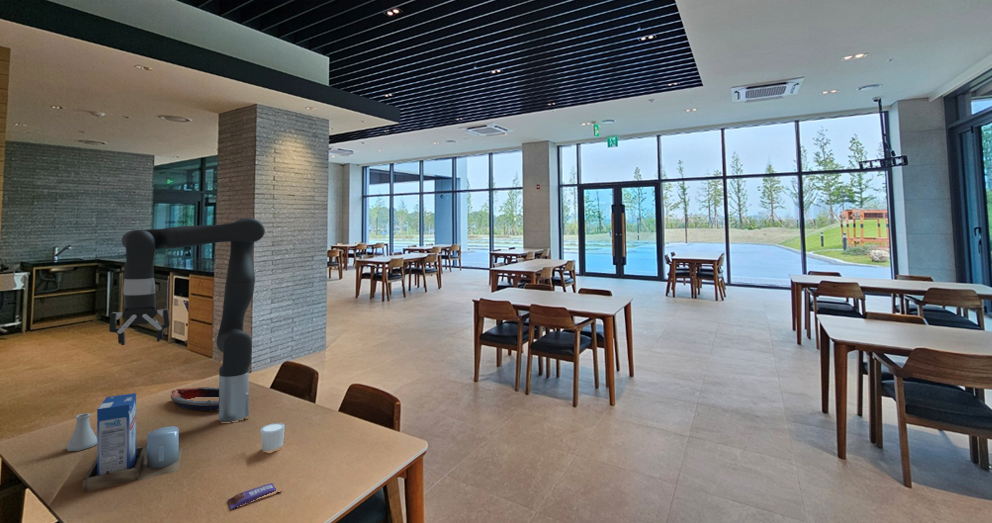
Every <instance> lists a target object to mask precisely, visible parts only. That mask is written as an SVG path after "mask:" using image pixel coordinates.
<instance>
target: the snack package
mask: <svg viewBox="0 0 992 523" xmlns="http://www.w3.org/2000/svg"><path fill="white" fill-rule="evenodd" d="M273 484H274V483H273V482H272V483H266V484H263V485H260V486H257V487H254V488H251V489H249V490H245V491H242V492H239V493H237V494H235V495H234V496H232V497H230V498H228V499H227V501H228V504H229V508H230V510H233V508H234V509H236V508H235V507H237V506H240V505H243V504H245V503H249V502H251V501H253V500H256V499H257V498H259V497H262V496H264V495H267V494H269V493H272V492H274V491H276V488H275V487H274V485H273ZM249 504H250V503H249ZM243 506H244V505H243Z"/></svg>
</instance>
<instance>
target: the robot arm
mask: <svg viewBox="0 0 992 523" xmlns="http://www.w3.org/2000/svg"><path fill="white" fill-rule="evenodd" d="M265 232H266V229H265V225H264V223H262V222H261V221H259V220H258V219H255V218H251V217H247V218H239V219H237V220H235V221H234V222H230V223H229V222H228V223H221V224H208V225H202V224H201V225H182V226H181V225H180V226H172V227H164V228H153V229H152V228H151V229H133V230H130V231H127V232H126V233H124V235H123V236H122V238H121V243H122V246H123V247H124V248H125V256H126V257H125V258H126V260H125V262H124V264H123V270H124V271H123V272H124V276H123V277H124V281H123V291H122V292H123V311H122V312H116V311H113V312H111V313H110V315H109V330H108V331H109V332H110V333H115V334H117V343H118V344H120V346H125V345H126V332H125V330H126V329H127V328H128V327H129V326H130V325H134V326H137V325H147V324H151V326H153V327H154V328H155V329H157V330H156V342H157V343H158V342H161V340H163V339H164V329H166V328H169V327H170V325H171V324H170V313H169V308H164V309H157V307H156V304H157V303H156V298H157V297H156V283H155V268H154V259H155V253H156V252H155V251H156V250H159V249H180V248H189V247H195V246H202V245H203V246H204V245H209V244H217V243H225V242H230V255H229V260H228V265H227V272H226V278H225V285H224V296H223V304H222V316H221V320H220V325H219V329H218V332H217V337H216V346H217V349H218V351H220V352H221V353H223V354H222V356H223V357H222V365H221V366H220V367H219V370H218V371H219V372H218V376H219V377H218V382H219V383H218V388H219V410H218V422H219V421H221V422H232V421H236V420H239V419H242V418H244V417H247V416H249V415H250V391H249V389H250V388H249V387H250V386H249V385H250V384H249V383H250V382H249V380H250V379H249V378H250V374H249V373H250V372H249V371H250V367H251V366H250V365H252V347H253V346H252V344H253V342H252V339H251V338H252V337H251V336H250V334H248V333H247V332H244V320H245V319H244V318H245V315H246V311H247V310H248V308H249V306H250V303H251V302H252V299H253V297H254V291H255V285H256V284H255V282H256V274H255V273H256V272H255V267H254V261H253V251H254V250H253V249H254V246H255V243H256V242H259V241H260V240H261V239H262V238H263V237H264V235H265ZM157 315H160V317H163V324H161V323H160V322H159V321H158V320H157V318H155V317H156V316H157ZM121 317H123V318H124V319H125V320H126V321H125V322H124V323H123V325H121V327H117V325H118V324H117V320H119V319H120V318H121ZM249 417H250V416H249Z"/></svg>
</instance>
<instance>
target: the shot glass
mask: <svg viewBox="0 0 992 523" xmlns="http://www.w3.org/2000/svg"><path fill="white" fill-rule="evenodd" d="M285 427H286V425H285V424H284V423H281V422H274V423H269V424H266V425H264V426H262V427H261V428H260V438H261V447H262V449H261V450H264V451H270V450H274V449H277V448H279V447H281V446H282V445H283V446H284V444H283V443H284V435H285V429H286V428H285Z"/></svg>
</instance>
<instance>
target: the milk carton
mask: <svg viewBox="0 0 992 523" xmlns="http://www.w3.org/2000/svg"><path fill="white" fill-rule="evenodd" d="M96 419H97V420H96V421H97V422H96V425H97V426H96V431H97V432H96V433H97V434H96V437H97V444H96V447H97V449H96V450H97V456H96V457H97V476H100V475H104V474H109V473H113V472H118V471H123V470H127V469H132V468H133V467H134V465H135V462H136V447H137V392H134V393H127V394H120V395H119V394H117V395H113V396H106V397H105V399H104V400H103V401H102V403H100V405H99V406H98V408H96Z"/></svg>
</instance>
